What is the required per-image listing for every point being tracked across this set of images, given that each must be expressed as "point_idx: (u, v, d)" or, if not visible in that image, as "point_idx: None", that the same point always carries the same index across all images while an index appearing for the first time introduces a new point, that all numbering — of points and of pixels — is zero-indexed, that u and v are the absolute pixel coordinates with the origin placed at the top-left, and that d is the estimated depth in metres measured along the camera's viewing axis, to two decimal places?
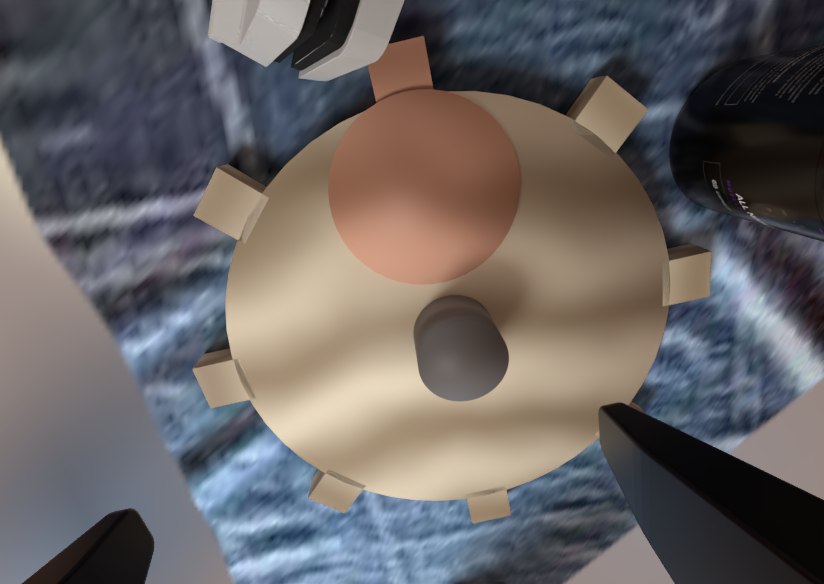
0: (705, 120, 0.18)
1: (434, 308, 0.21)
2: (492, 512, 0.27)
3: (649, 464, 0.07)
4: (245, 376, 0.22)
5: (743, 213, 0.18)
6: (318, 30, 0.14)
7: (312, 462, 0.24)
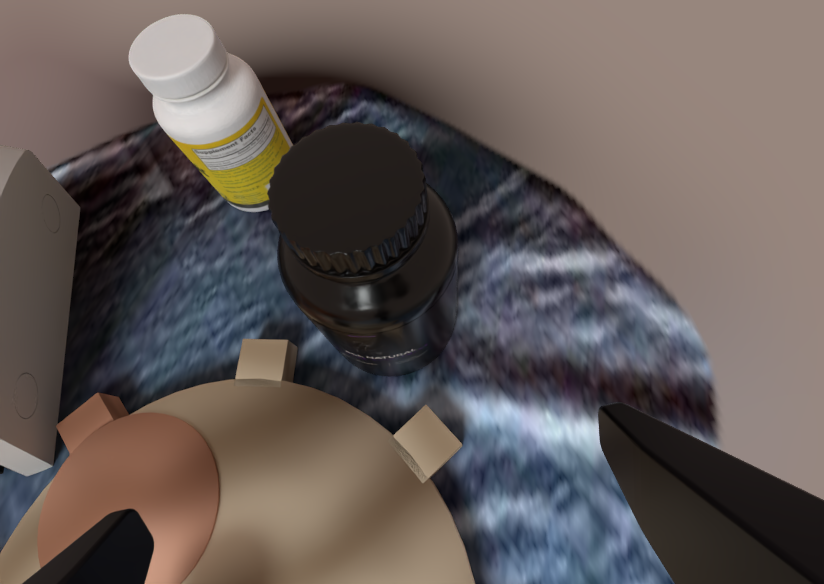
0: None
1: None
2: None
3: (649, 464, 0.07)
4: None
5: (373, 360, 0.19)
6: None
7: None
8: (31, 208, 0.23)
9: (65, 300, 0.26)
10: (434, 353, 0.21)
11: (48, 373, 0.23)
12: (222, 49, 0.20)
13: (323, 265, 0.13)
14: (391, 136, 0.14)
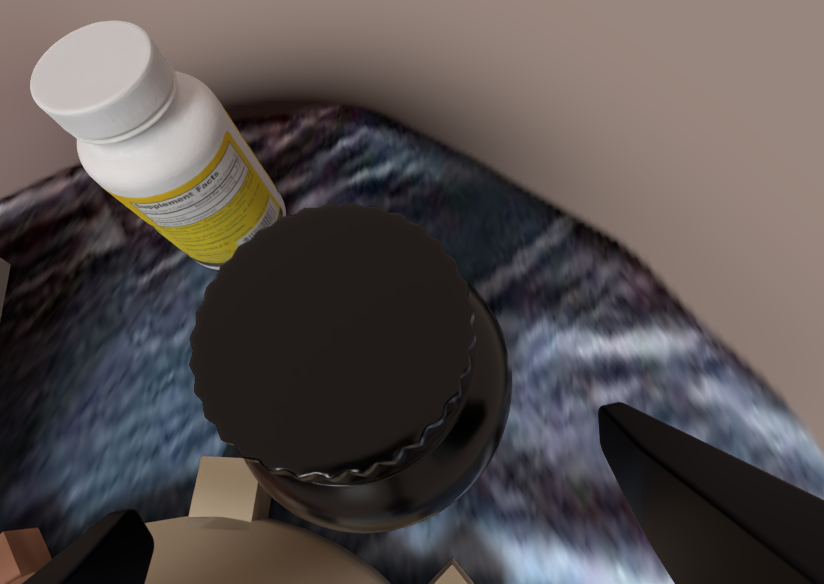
0: None
1: None
2: None
3: (649, 464, 0.07)
4: None
5: None
6: None
7: None
8: None
9: None
10: None
11: None
12: (165, 69, 0.14)
13: (290, 474, 0.07)
14: (412, 231, 0.08)
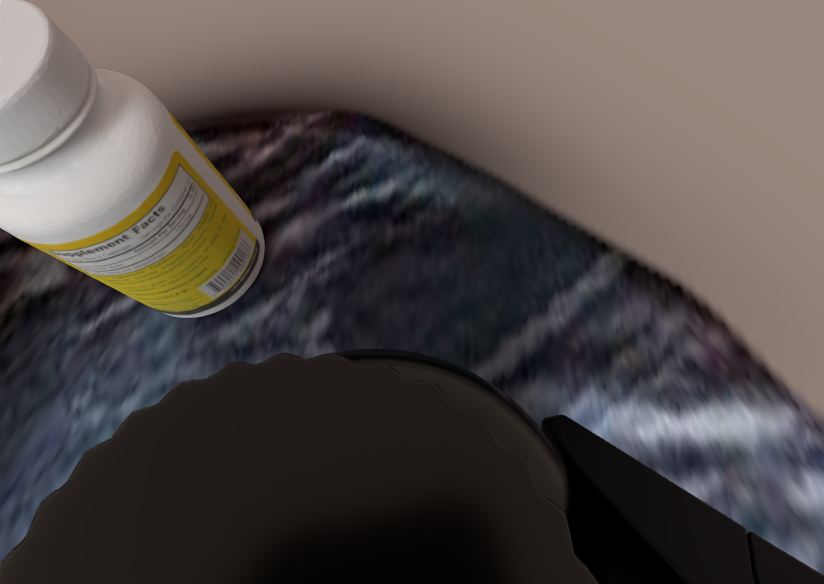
0: None
1: None
2: None
3: (578, 479, 0.07)
4: None
5: None
6: None
7: None
8: None
9: None
10: None
11: None
12: (76, 68, 0.10)
13: None
14: (461, 433, 0.03)
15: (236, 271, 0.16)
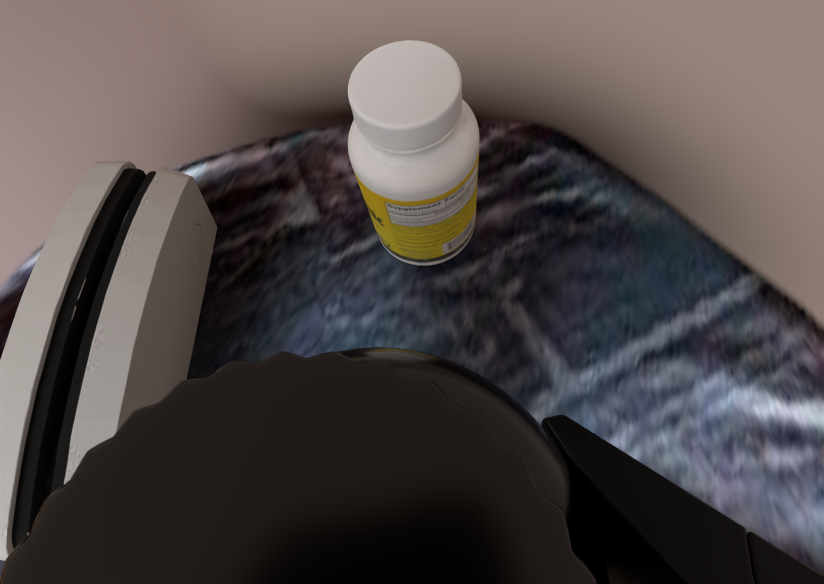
0: None
1: None
2: None
3: (578, 479, 0.07)
4: None
5: None
6: None
7: None
8: (183, 247, 0.19)
9: (190, 343, 0.22)
10: None
11: None
12: None
13: None
14: (459, 431, 0.04)
15: (464, 237, 0.22)
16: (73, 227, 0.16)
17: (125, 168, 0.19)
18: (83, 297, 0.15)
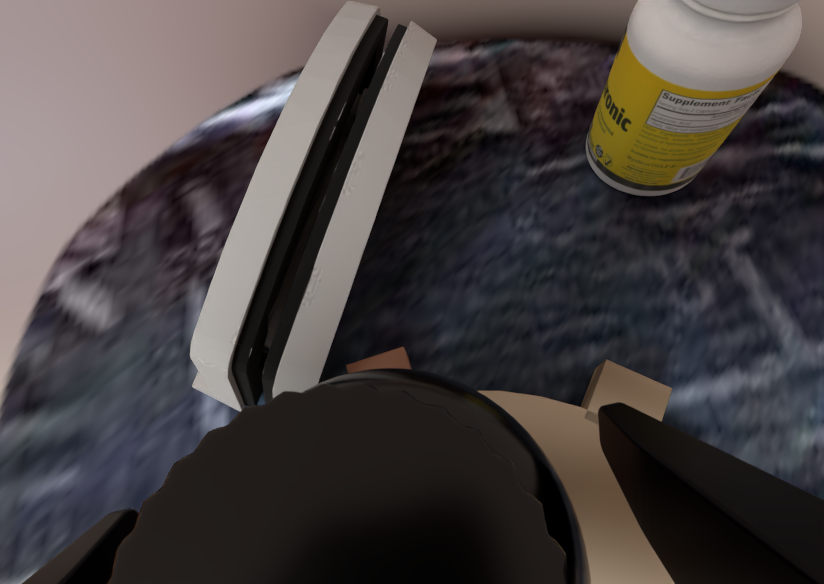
0: None
1: None
2: None
3: (649, 464, 0.07)
4: None
5: None
6: None
7: None
8: None
9: None
10: None
11: None
12: None
13: None
14: (463, 445, 0.05)
15: (699, 168, 0.19)
16: (338, 49, 0.15)
17: (377, 13, 0.17)
18: (338, 122, 0.14)
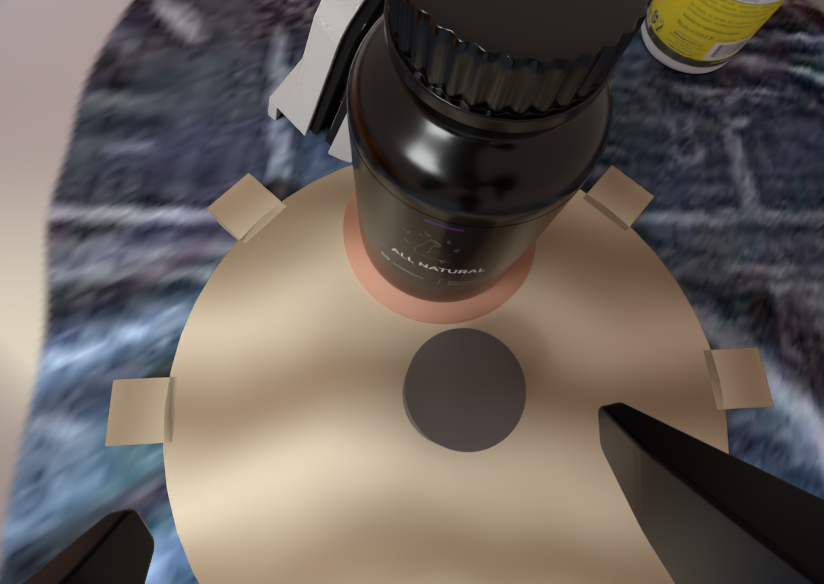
0: None
1: None
2: None
3: (649, 464, 0.07)
4: (174, 404, 0.17)
5: (424, 270, 0.14)
6: None
7: None
8: None
9: None
10: (489, 285, 0.17)
11: None
12: None
13: (455, 78, 0.08)
14: None
15: (729, 53, 0.23)
16: None
17: None
18: None
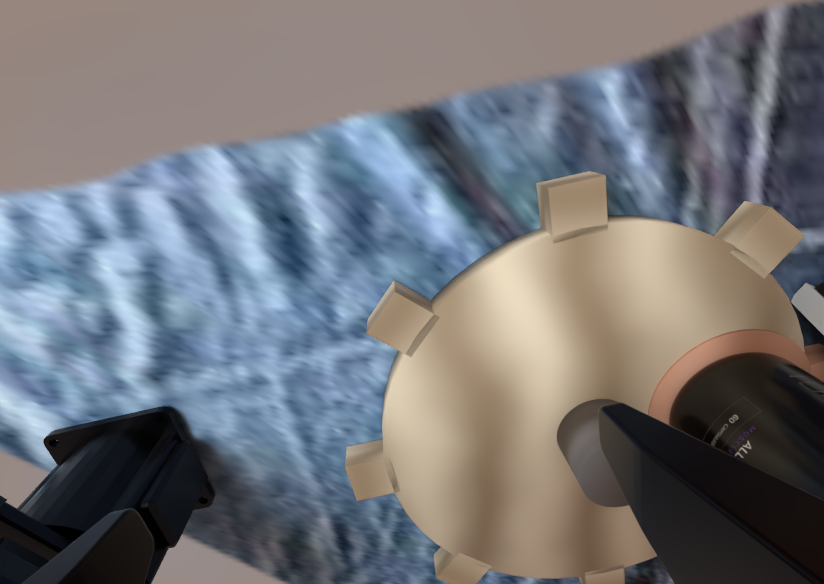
0: (772, 376, 0.19)
1: None
2: (362, 483, 0.23)
3: (649, 464, 0.07)
4: (584, 235, 0.19)
5: None
6: None
7: (452, 299, 0.20)
8: None
9: None
10: None
11: None
12: None
13: None
14: None
15: None
16: None
17: None
18: None
